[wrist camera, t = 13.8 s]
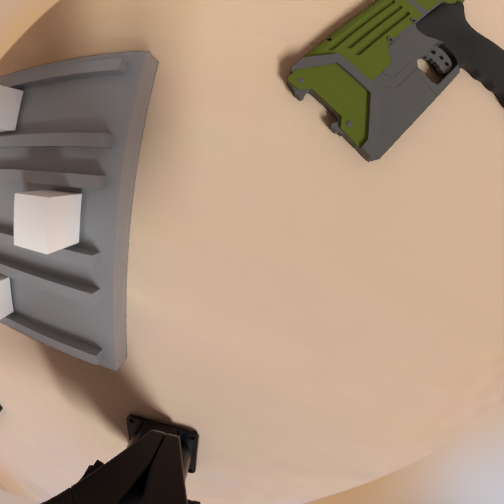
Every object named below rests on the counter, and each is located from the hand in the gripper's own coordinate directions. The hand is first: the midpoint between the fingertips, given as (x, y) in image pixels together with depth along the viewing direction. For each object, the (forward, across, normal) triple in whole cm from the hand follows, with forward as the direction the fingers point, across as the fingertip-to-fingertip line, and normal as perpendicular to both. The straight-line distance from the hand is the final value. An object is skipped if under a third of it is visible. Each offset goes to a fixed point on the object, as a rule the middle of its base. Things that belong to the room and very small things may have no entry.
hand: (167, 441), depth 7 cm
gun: (+13, -12, -17) cm, 25 cm away
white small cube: (+10, +11, -4) cm, 15 cm away
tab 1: (+10, +18, -11) cm, 23 cm away
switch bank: (+12, +14, -4) cm, 19 cm away
